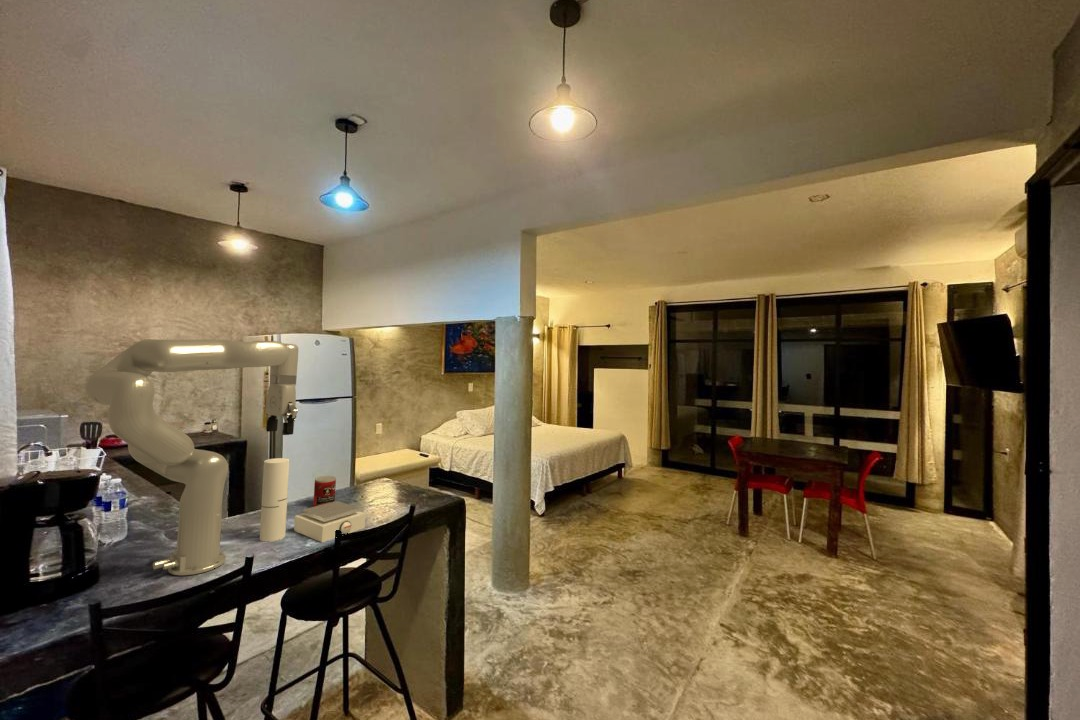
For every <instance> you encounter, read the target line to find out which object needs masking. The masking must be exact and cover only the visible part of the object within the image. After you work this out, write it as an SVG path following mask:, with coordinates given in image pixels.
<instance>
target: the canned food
mask: <svg viewBox="0 0 1080 720" xmlns="http://www.w3.org/2000/svg"><path fill="white" fill-rule="evenodd" d="M336 482H337V478H336V476H333V475H323V476H319V477H316V478H315V479H314V484H313V485H314V488H313V507H315V506H319V505H323V504H327V503H330V502H334V501H336V486H337V485H336Z"/></svg>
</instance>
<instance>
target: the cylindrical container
mask: <svg viewBox="0 0 1080 720" xmlns="http://www.w3.org/2000/svg"><path fill="white" fill-rule="evenodd" d="M262 471H263V474H262V489H261V490H262V491H261V493H262V494H261V506H260V507H261V510H260V524H259V525H260V529H259V541H261V542H264V541H266V543H267V541H270V542H274V541H275V542H277V541H279V539H280V540H282V539H284V538H285V537H286V528H287V527H286V526H287V510H288V491H289V473H290V472H289V471H290V458H286V457H285V458H284V457H277V458H268V459H265V460H264V461H263V470H262Z"/></svg>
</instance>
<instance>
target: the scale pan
mask: <svg viewBox="0 0 1080 720" xmlns="http://www.w3.org/2000/svg"><path fill="white" fill-rule="evenodd" d="M356 512H360V507H358V506H354V505H351V504H348V503H345V502H343V501H339V500H335V501H334V502H330V503H327V504H323V505H319V506H315V507H314V506H312V507H308V508H304V509H301V514H305V515H307V516H310V517H313V518H315V519H318V520H321V521H323V522H326V521H330V520H333V519H336V518H340V517H343V516H346V515H349V514H353V513H356Z"/></svg>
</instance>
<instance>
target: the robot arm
mask: <svg viewBox="0 0 1080 720" xmlns="http://www.w3.org/2000/svg"><path fill="white" fill-rule="evenodd" d="M298 361H299V347H298V346H297V345H296V344H293V343H284V342H281V341H278V340H277V341H276V340H275V341H274V340H253V341H245V340H243V341H241V340H240V341H239V340H230V339H216V338H214V339H212V338H211V339H155V338H154V339H153V338H152V339H149V338H148V339H147V338H146V339H141V340H139V341H137V342H135V343H133V344H132V345H130V346H129V347H127V348H126V349H124V350H122V352H121V353H119V354H118V355H117V356H116V357H114V358H113V359H111V360H110V361H108V362H107V363H106V364H105V365H103V366H102V367H101V368H100V369H98V370H97V371H96V372H94V373H93V374H92V375H91V376H90V378H88V379H87V382H86V384H85V393H86V395H87V397H88V398H89V399H90V400H91V401H93V402H95V403H96V404H97V403H98V404H99V405H105V406H109V407H108V417H107V419H108V424H109V428H110V429H111V432H112V433H113V435H115V437H118V438H119V439H120V440H121V441H122V442H124V443H126V444H127V449H128V452H129V455H130V456H131V458H133V459H134V460H135V461H136V462H137V463H139V464H141V465H143V466H144V467H146V468H148V469H150V470H152V471H153V472H154V473H157V474H158V475H160V476H161V477H164V478H166V479H167V480H170V481H173V482H177V483H181V484H184V485H185V487H184V489H183V491H182V494H181V496H180V499H179V505H178V523H177V525H178V526H177V540H176V551H172V552H171V555H170V556H168V557H167V558H165V559H159V560H157V561H154V562H152V569H153V570H154V571H155V570H158V569H161V568H162V569H163V570H167V572H168V573H169V574H170V575H172V576H191V575H197V574H202V573H205V572H209V571H212V570H215V569H217V568H219V567H220V566H222V565H223V564H224V563H225V562H226V561H227V560H226V559H227V555H226V554H225V553H224V552H220V549H221V547H220V546H221V535H222V534H221V532H222V531H221V530H222V513H223V498H224V488H225V484H226V481H227V479H228V478H227V477H228V474H229V463H228V461H227V459H226V458H225V457H224V456H223V455H222V454H220V453H217V452H216V451H211V450H206V449H197V448H195V444H194V441H193V440H192V438H191V437H190V436H189V435H187V434H186V433H184V431H181V430H180V429H178V428H177V427H175V426H173V425H172V424H171V423H169V422H168V421H166V420H165V419H163V418H162V417H161V416H160V415H158V413H156V412H155V410H154V397H155V394H156V390H155V385H154V382H153V381H152V380H151V379H150V378H149V376H150V375H151V374H152V373H153V372H158V373H180V372H191V371H193V372H194V371H208V370H212V371H213V370H231V369H232V370H233V369H241V368H244V369H245V368H261V367H270V375H269V386H268V390H267V394H266V395H267V396H266V400H265V410H264V411H265V414H266V417H265V418H266V429H265V430H266V432H277V430H278V423H279V422H278V421H279V419H278V417H282V418H283V421H284V422H282V432H281V433H282V434H281V435H283V436H289V435H294V430H295V429H294V428H295V427H294V425H295V422H296V418H297V414H298V411H299V410H298V408H297V407H296V405H297V404H296V402H297V399H296V397H297V396H296V386H297V376H298ZM214 568H215V569H214Z"/></svg>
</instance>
